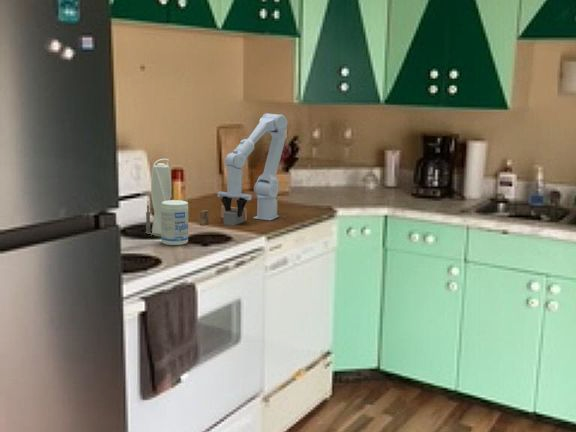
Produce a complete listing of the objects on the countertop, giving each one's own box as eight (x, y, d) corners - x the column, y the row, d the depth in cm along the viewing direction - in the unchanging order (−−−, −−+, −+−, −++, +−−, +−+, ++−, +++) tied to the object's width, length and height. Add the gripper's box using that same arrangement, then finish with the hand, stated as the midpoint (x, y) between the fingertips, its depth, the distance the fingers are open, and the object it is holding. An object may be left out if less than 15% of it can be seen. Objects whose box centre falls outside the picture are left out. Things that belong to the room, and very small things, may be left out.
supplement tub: (179, 247, 230) (179, 205, 227) (155, 244, 233) (155, 203, 230) (193, 241, 239) (193, 201, 236) (170, 238, 242) (170, 198, 239)
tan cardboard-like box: (224, 216, 283) (224, 203, 282) (227, 216, 283) (227, 203, 282) (199, 225, 265) (200, 211, 264) (203, 225, 264) (203, 212, 263)
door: (220, 218, 278) (221, 206, 277) (222, 217, 279) (222, 205, 278) (245, 221, 274) (245, 209, 273) (246, 220, 275) (246, 208, 274)
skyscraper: (159, 230, 254) (158, 157, 248) (176, 232, 251) (176, 159, 245) (144, 234, 247) (143, 159, 241) (162, 237, 243) (161, 161, 237)
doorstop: (233, 220, 275) (234, 208, 274) (243, 221, 274) (243, 209, 273) (223, 224, 267) (223, 212, 266) (233, 225, 265) (233, 213, 264)
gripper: (213, 182, 266) (213, 215, 269) (246, 185, 261) (245, 219, 264) (222, 180, 273) (221, 212, 275) (254, 183, 267) (253, 216, 270)
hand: (234, 215), depth 270 cm, fingers closed on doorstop, 4 cm apart
